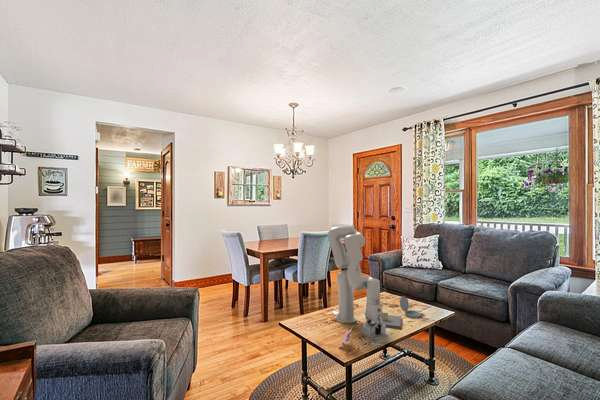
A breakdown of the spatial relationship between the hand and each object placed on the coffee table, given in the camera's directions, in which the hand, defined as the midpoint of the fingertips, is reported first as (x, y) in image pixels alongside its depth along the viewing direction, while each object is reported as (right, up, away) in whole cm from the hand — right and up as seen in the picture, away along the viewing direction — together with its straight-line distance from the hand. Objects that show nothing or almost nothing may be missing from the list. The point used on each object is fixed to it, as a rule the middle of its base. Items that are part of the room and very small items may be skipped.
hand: (374, 331), depth 166 cm
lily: (-18, -1, -14) cm, 23 cm away
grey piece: (+11, -1, +16) cm, 20 cm away
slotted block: (0, -1, 0) cm, 1 cm away
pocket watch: (+32, -1, +26) cm, 41 cm away
